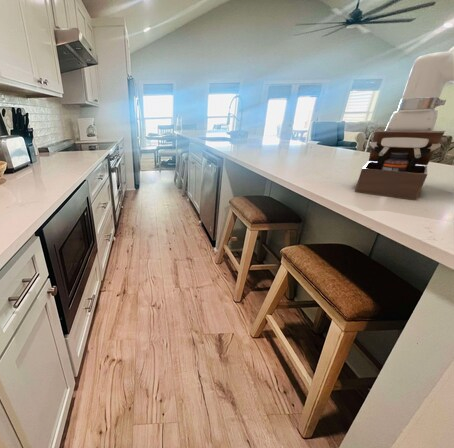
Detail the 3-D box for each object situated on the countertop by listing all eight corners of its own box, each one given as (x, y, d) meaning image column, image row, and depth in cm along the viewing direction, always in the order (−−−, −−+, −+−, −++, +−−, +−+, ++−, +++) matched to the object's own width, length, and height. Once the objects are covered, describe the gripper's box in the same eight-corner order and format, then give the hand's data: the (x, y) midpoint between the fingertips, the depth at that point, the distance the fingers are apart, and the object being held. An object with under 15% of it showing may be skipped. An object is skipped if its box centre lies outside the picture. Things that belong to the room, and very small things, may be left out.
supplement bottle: (389, 186, 80) (402, 151, 76) (404, 191, 75) (419, 153, 70) (370, 186, 81) (381, 151, 76) (383, 191, 76) (397, 154, 71)
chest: (416, 200, 69) (427, 174, 66) (354, 191, 78) (361, 168, 75) (417, 189, 78) (427, 165, 75) (361, 182, 87) (368, 161, 84)
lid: (444, 132, 64) (445, 130, 64) (374, 132, 73) (375, 130, 73) (427, 165, 75) (427, 163, 75) (368, 161, 84) (369, 159, 84)
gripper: (462, 103, 65) (433, 170, 72) (378, 107, 76) (360, 164, 83) (465, 103, 60) (434, 175, 67) (375, 107, 71) (357, 168, 79)
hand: (393, 168), depth 75 cm, fingers closed on supplement bottle, 6 cm apart
